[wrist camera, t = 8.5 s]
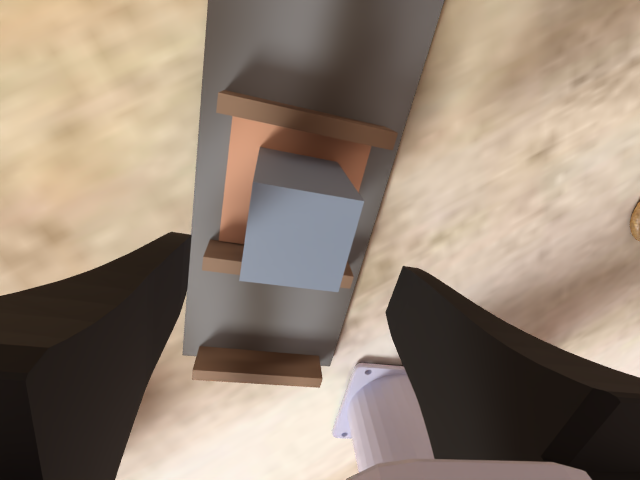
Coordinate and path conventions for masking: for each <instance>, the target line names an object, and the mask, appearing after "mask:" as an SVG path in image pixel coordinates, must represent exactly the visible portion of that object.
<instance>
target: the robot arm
mask: <svg viewBox="0 0 640 480" xmlns="http://www.w3.org/2000/svg"><path fill="white" fill-rule="evenodd" d="M191 238H192V235H189V234H182V233H175V232H170V233H168V234H166V235H164V236H162V237H160V238H158V239H156V240H154V241H152V242H150V243H149V244H147V245H145V246H143V247H141V248H139V249H137V250H135V251H133V252H131V253H129V254H127V255H125V256H122V257H120V258H118V259H116V260H113V261H111V262H109V263H107V264H105V265H102V266H100V267H97V268H95V269H92V270H90V271H87V272H84V273H81V274H79V275H76V276H73V277H70V278H67V279H64V280H60V281H57V282H54V283H50V284H46V285H42V286H39V287H35V288H31V289H27V290H24V291H20V292H16V293H12V294H7V295H2V296H0V480H115V478H116V475H117V472H118V469H119V465H120V462H121V459H122V456H123V453H124V450H125V447H126V444H127V441H128V438H129V435H130V432H131V429H132V426H133V423H134V420H135V417H136V415H137V412H138V409H139V406H140V403H141V400H142V397H143V395H144V392H145V389H146V387H147V384H148V382H149V379H150V377H151V375H152V372H153V370H154V368H155V366H156V364H157V362H158V360H159V358H160V356H161V353H162V351H163V349H164V347H165V345H166V343H167V341H168V339H169V337H170V334H171V332H172V330H173V328H174V326H175V324H176V322H177V319H178V317H179V315H180V312H181V309H182V306H183V302H184V299H185V296H186V292H187V289H188V276H189V263H190V251H191ZM386 316H387V321H388V325H389V329H390V333H391V337H392V339H393V342H394V344H395V347H396V349H397V352H398V354H399V357H400V359H401V361H402V364H403V366H393V365H381V364H368V363H359V364H357V365H356V366H355V367H354V370H353V373H352V376H351V378H350V381H349V384H348V387H347V390H346V393H345V395H344V398H343V401H342V404H341V407H340V409H339V412H338V415H337V418H336V421H335V424H334V426H333V429H332V434H333V437H335V438H352V442H353V446H354V451H355V456H356V461H357V466H358V470H359V473H357V474H355V475H353V476H351V477H349V478H347V479H346V480H640V378H639V377H636V376H633V375H629V374H626V373H623V372H620V371H617V370H614V369H611V368H608V367H606V366H603V365H600V364H598V363H595V362H592V361H590V360H587V359H584V358H582V357H579V356H577V355H574V354H572V353H569V352H567V351H565V350H562V349H560V348H558V347H556V346H553V345H551V344H549V343H547V342H544V341H542V340H540V339H538V338H536V337H534V336H532V335H530V334H528V333H526V332H524V331H522V330H520V329H518V328H516V327H514V326H512V325H510V324H508V323H507V322H505V321H503V320H501V319H500V318H498V317H496V316H494V315H493V314H491V313H490V312H488V311H486V310H485V309H483V308H481V307H480V306H478V305H476V304H475V303H473V302H472V301H470V300H469V299H467V298H466V297H464V296H463V295H461V294H460V293H458V292H457V291H455V290H454V289H452V288H451V287H449V286H448V285H446V284H445V283H443V282H441V281H440V280H438V279H437V278H435V277H434V276H432V275H430V274H429V273H427V272H425V271H423V270H421V269H419V268H413V267H406V266H403V267H402V270H401V273H400V275H399V278H398V281H397V283H396V286H395V289H394V291H393V294H392V297H391V299H390V302H389V305H388V307H387V310H386ZM366 370H367V371H366Z"/></svg>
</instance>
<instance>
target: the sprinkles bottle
mask: <svg viewBox="0 0 640 480" xmlns="http://www.w3.org/2000/svg"><path fill="white" fill-rule="evenodd" d="M630 228H631V233H632V235H633V236H634V237H635V239H636V240H638V241H640V202H639V203H638V204H637V207H636V208H635V209H634V212H633V214H632V216H631V220H630Z"/></svg>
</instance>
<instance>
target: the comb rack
mask: <svg viewBox="0 0 640 480" xmlns="http://www.w3.org/2000/svg"><path fill="white" fill-rule="evenodd" d="M443 3H444V0H208V9H207V23H206V37H205V51H204V65H203V79H202V92H201V106H200V120H199V134H198V148H197V162H196V175H195V189H194V203H193V217H192V231H191V235H192V238H191V251H190V263H189V276H188V289H187V300H186V314H185V328H184V341H183V355H187V356H197V357H196V360H195V364H194V368H193V374H192V380H206V381H222V382H238V383H254V384H271V385H287V386H303V387H319V388H320V385H321V382H322V372H321V366H330V364H331V361H332V358H333V354H334V351H335V348H336V345H337V342H338V339H339V335H340V332H341V329H342V326H343V323H344V319H345V316H346V313H347V310H348V307H349V303H350V300H351V297H352V294H353V291H354V287H355V284H356V281H357V278H358V275H359V271H360V268H361V265H362V262H363V259H364V256H365V252H366V249H367V246H368V243H369V240H370V236H371V233H372V230H373V227H374V224H375V220H376V217H377V214H378V211H379V208H380V204H381V201H382V198H383V195H384V192H385V189H386V185H387V182H388V179H389V176H390V173H391V169H392V166H393V163H394V160H395V157H396V153H397V150H398V147H399V144H400V141H401V137H402V134H403V131H404V128H405V125H406V121H407V118H408V115H409V112H410V109H411V106H412V102H413V99H414V96H415V93H416V90H417V86H418V83H419V80H420V77H421V74H422V70H423V67H424V64H425V61H426V58H427V54H428V51H429V48H430V45H431V42H432V39H433V35H434V32H435V29H436V26H437V23H438V19H439V16H440V13H441V10H442V7H443ZM260 147H263V148H268V149H273V150H278V151H284V152H289V153H294V154H299V155H304V156H309V157H315V158H320V159H325V160H330V161H335V162H338V164H339V165H340V167H341V168H342V169H343V171H344V172H345V174H346V175H347V177H348V178H349V180H350V181H351V183H352V184H353V186H354V187H355V188H356V190H357V191H358V193H359V194H360V196H361V197H362V199H363V200H364V204H363V207H362V211H361V214H360V218H359V221H358V225H357V229H356V232H355V236H354V239H353V243H352V246H351V250H350V253H349V257H348V260H347V264H346V267H345V271H344V274H343V278H342V281H341V285H340V288H339V292H332V291H323V290H314V289H306V288H297V287H288V286H280V285H271V284H262V283H254V282H245V281H239V279H240V271H241V264H242V257H243V250H244V242H245V235H246V228H247V221H248V213H249V206H250V199H251V192H252V184H253V179H254V173H255V168H256V163H257V158H258V153H259V148H260Z"/></svg>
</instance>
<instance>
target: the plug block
mask: <svg viewBox="0 0 640 480" xmlns="http://www.w3.org/2000/svg"><path fill="white" fill-rule="evenodd" d="M363 204H364V200H363V199H362V197H361V196H360V194H359V193H358V191H357V190H356V188H355V187H354V186H353V184H352V183H351V181H350V180H349V178H348V177H347V175H346V174H345V172H344V171H343V169H342V168H341V167H340V165H339V164H338V162H335V161H330V160H325V159H320V158H315V157H309V156H304V155H299V154H294V153H289V152H284V151H278V150H273V149H268V148H263V147H260V148H259V153H258V158H257V163H256V168H255V173H254V179H253V184H252V192H251V199H250V206H249V213H248V221H247V228H246V235H245V242H244V250H243V257H242V264H241V271H240V279H239V281H245V282H254V283H262V284H271V285H280V286H288V287H297V288H306V289H314V290H323V291H332V292H339V288H340V285H341V281H342V278H343V274H344V271H345V267H346V264H347V260H348V257H349V253H350V250H351V246H352V243H353V239H354V236H355V232H356V229H357V225H358V221H359V218H360V214H361V211H362V207H363Z"/></svg>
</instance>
